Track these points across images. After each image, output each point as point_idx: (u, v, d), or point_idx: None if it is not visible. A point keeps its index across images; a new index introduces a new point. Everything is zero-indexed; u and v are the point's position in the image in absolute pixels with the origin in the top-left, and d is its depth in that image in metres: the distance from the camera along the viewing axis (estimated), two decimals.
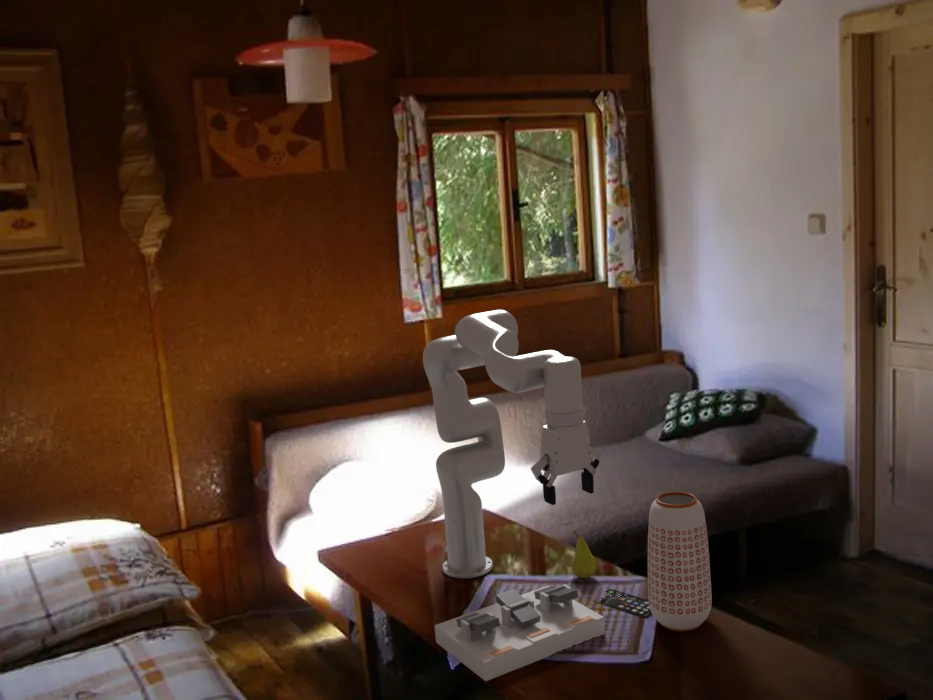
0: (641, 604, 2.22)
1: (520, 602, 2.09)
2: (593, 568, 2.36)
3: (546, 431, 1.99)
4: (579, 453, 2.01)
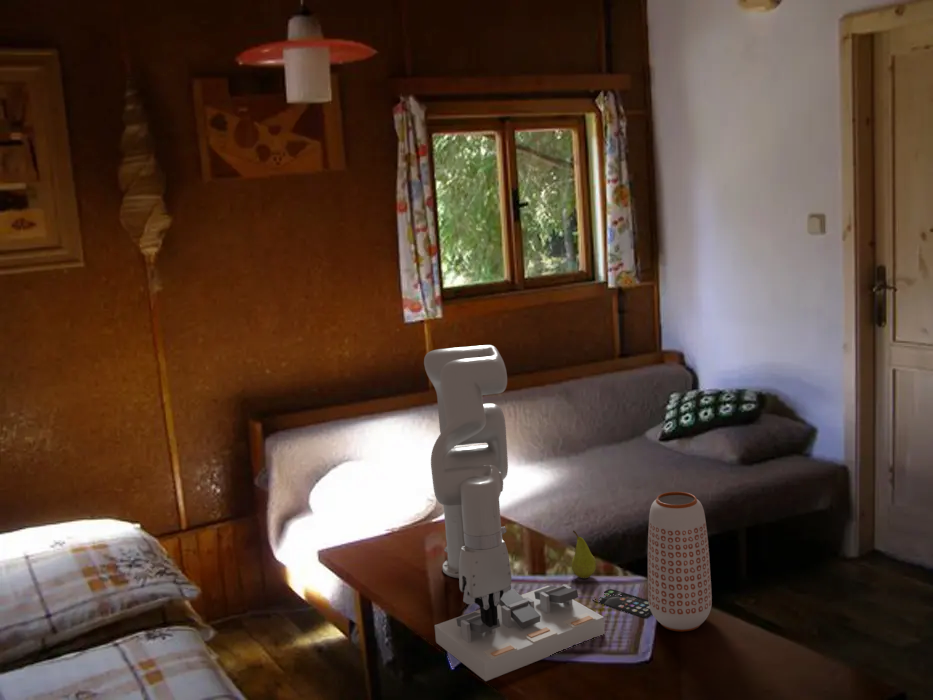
0: (641, 604, 2.22)
1: (520, 602, 2.09)
2: (593, 568, 2.36)
3: (463, 552, 1.95)
4: (498, 575, 1.97)
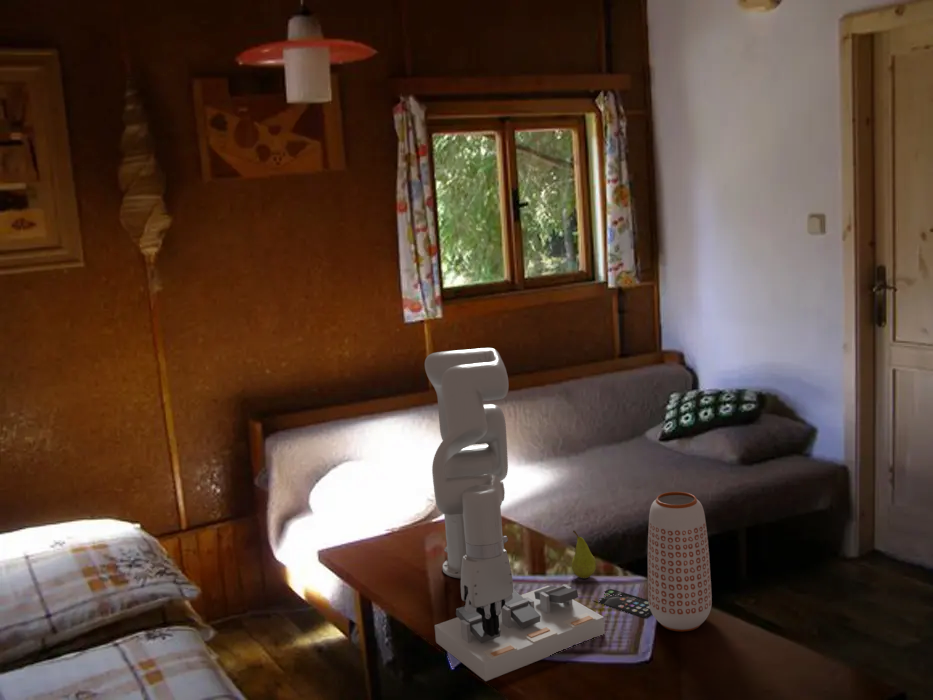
0: (641, 604, 2.22)
1: (520, 602, 2.09)
2: (593, 568, 2.36)
3: (465, 562, 1.95)
4: (500, 584, 1.97)
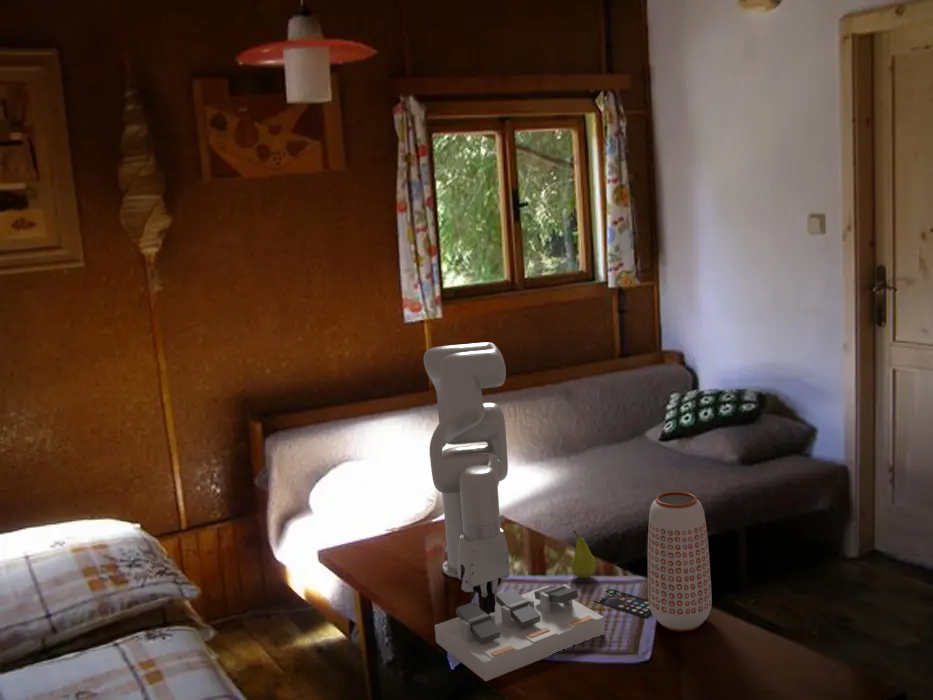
0: (641, 604, 2.22)
1: (520, 602, 2.09)
2: (593, 568, 2.36)
3: (462, 541, 1.95)
4: (497, 563, 1.97)
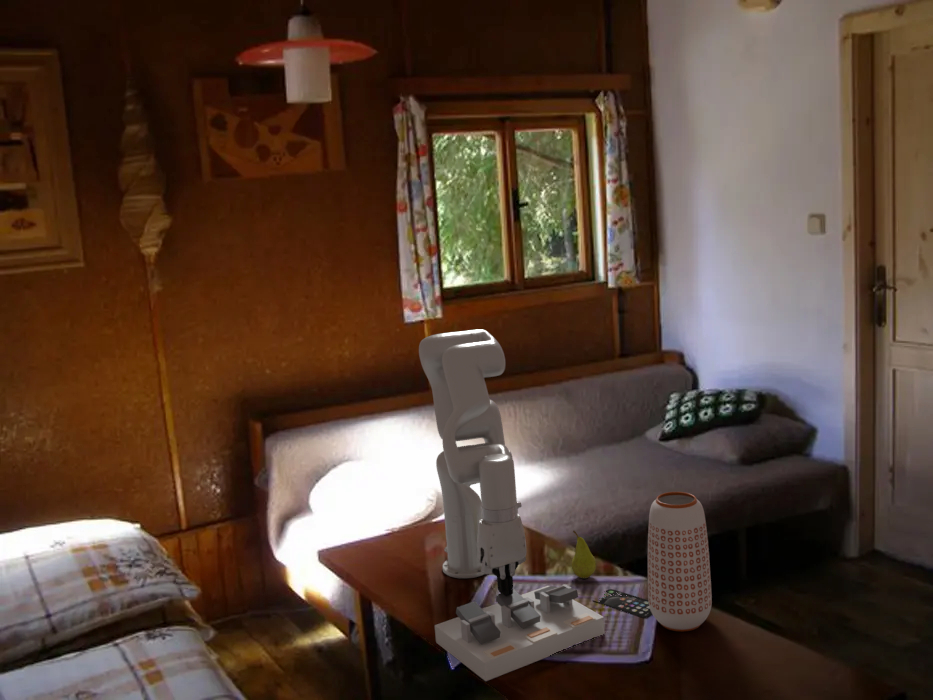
0: (641, 604, 2.22)
1: (520, 602, 2.09)
2: (593, 568, 2.36)
3: (481, 526, 2.08)
4: (514, 546, 2.10)
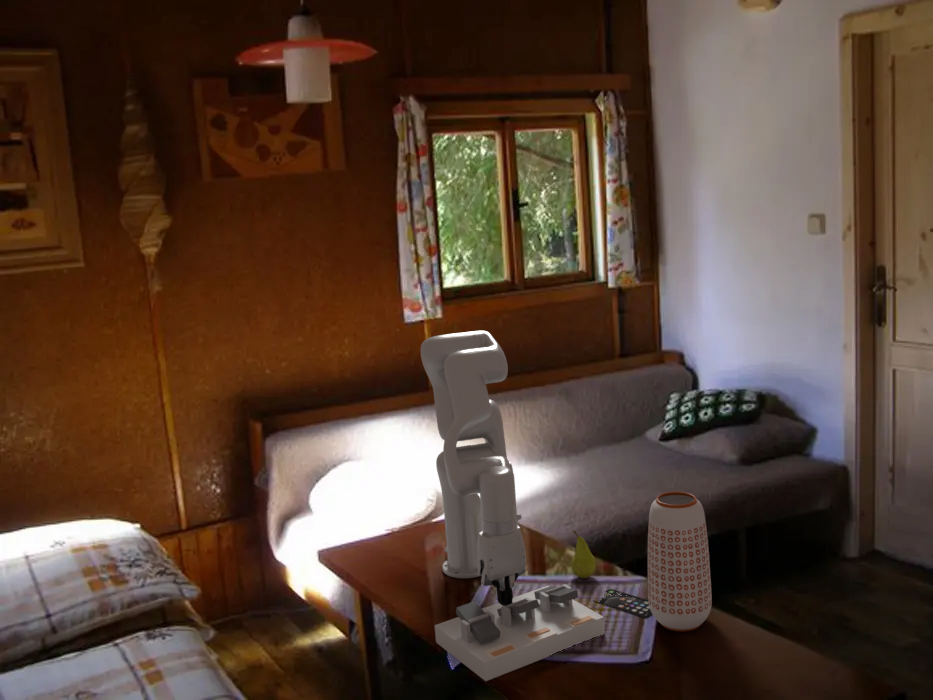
0: (641, 604, 2.22)
1: (518, 601, 2.10)
2: (593, 568, 2.36)
3: (481, 538, 2.09)
4: (514, 558, 2.10)
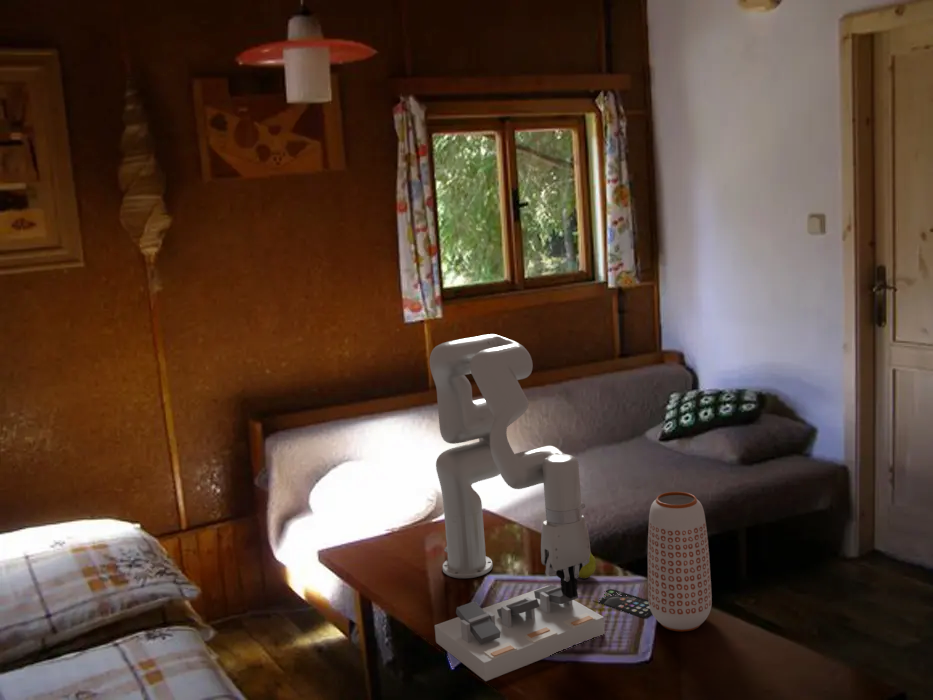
0: (641, 604, 2.22)
1: (518, 601, 2.10)
2: (593, 568, 2.36)
3: (546, 527, 2.05)
4: (579, 548, 2.07)
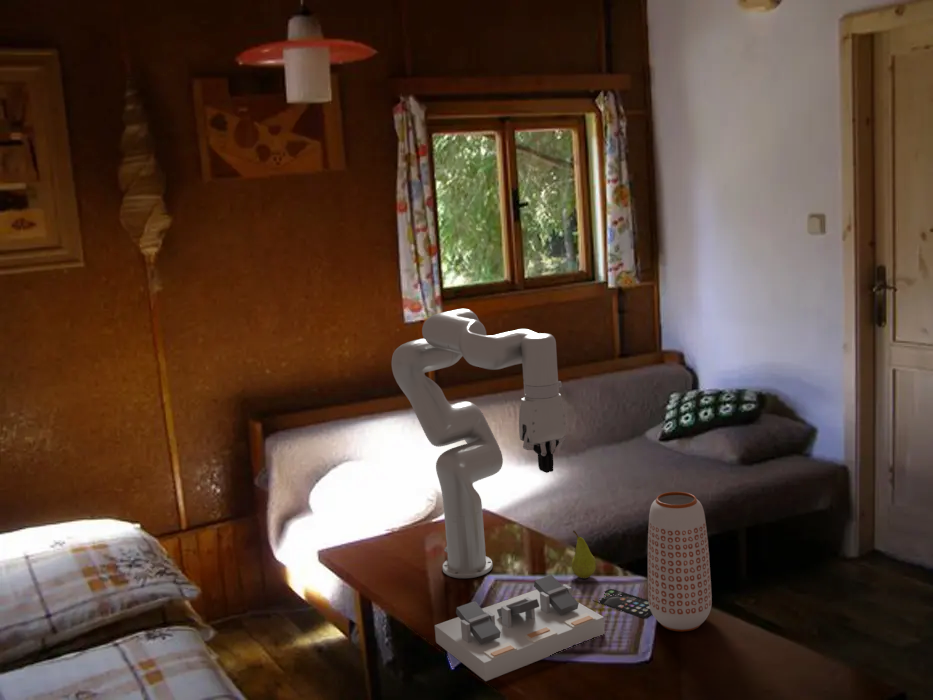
0: (640, 604, 2.21)
1: (518, 601, 2.10)
2: (593, 568, 2.36)
3: (523, 402, 2.14)
4: (555, 424, 2.15)
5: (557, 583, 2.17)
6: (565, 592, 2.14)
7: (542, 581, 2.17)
